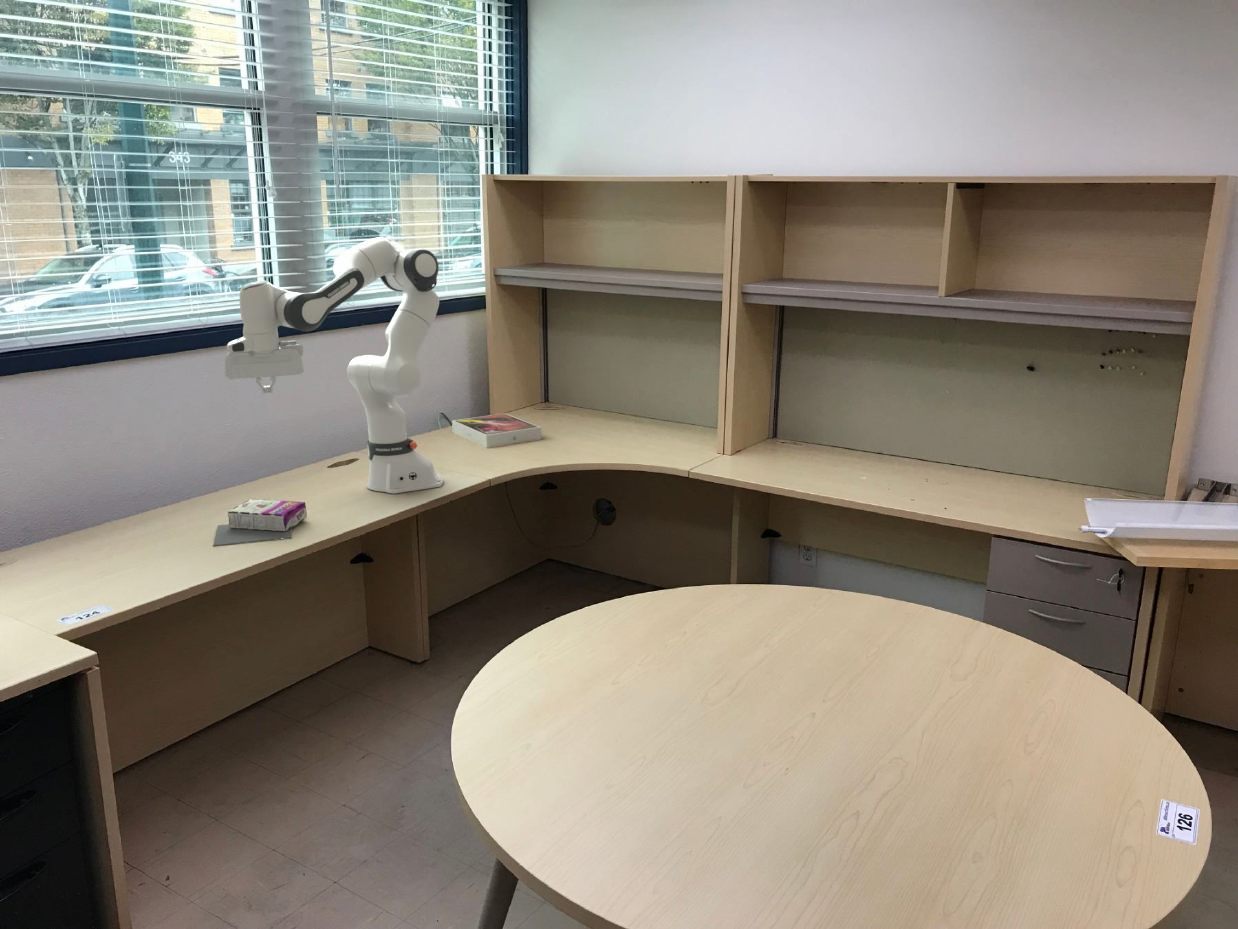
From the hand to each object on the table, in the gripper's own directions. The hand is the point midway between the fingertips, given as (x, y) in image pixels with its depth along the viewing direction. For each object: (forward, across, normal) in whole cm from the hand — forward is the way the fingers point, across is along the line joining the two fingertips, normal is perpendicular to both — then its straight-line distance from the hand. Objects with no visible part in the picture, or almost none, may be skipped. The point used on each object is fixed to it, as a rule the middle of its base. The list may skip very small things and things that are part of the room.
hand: (267, 392), depth 265 cm
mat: (+32, +7, +22) cm, 40 cm away
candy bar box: (+29, -4, +22) cm, 37 cm away
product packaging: (+34, -74, -60) cm, 102 cm away
